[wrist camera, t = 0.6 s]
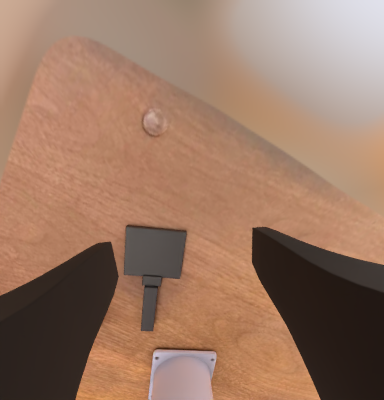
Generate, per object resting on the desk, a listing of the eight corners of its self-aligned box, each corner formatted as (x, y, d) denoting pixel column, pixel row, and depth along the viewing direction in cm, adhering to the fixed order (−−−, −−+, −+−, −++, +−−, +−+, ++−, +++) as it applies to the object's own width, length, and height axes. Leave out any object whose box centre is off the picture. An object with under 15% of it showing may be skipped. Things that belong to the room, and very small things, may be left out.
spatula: (173, 325, 24) (173, 332, 23) (122, 323, 24) (120, 330, 23) (186, 230, 21) (186, 234, 20) (127, 225, 20) (124, 228, 19)
